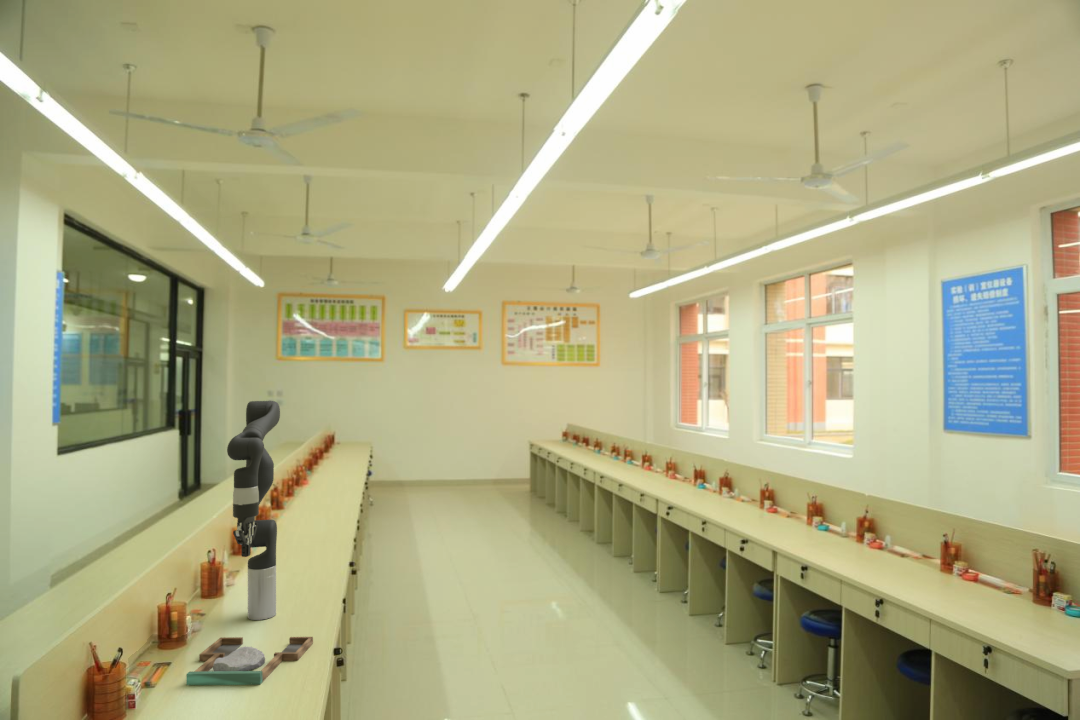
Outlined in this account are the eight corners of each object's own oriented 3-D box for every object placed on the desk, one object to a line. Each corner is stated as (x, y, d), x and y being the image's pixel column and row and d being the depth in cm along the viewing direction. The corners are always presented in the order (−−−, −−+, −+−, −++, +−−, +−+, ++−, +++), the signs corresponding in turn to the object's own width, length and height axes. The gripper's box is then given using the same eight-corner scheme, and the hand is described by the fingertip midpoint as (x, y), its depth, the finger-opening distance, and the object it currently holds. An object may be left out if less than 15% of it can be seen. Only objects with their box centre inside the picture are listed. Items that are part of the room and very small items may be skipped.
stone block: (268, 669, 197) (245, 656, 202) (270, 653, 197) (247, 641, 201) (233, 687, 187) (209, 673, 191) (235, 670, 186) (211, 657, 191)
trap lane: (220, 643, 211) (220, 634, 211) (312, 643, 211) (312, 633, 211) (169, 685, 183) (169, 674, 183) (276, 684, 183) (276, 673, 183)
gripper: (243, 497, 220) (243, 550, 220) (224, 505, 207) (224, 562, 206) (266, 497, 220) (266, 550, 220) (248, 504, 207) (248, 561, 206)
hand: (245, 556), depth 213 cm, fingers closed
